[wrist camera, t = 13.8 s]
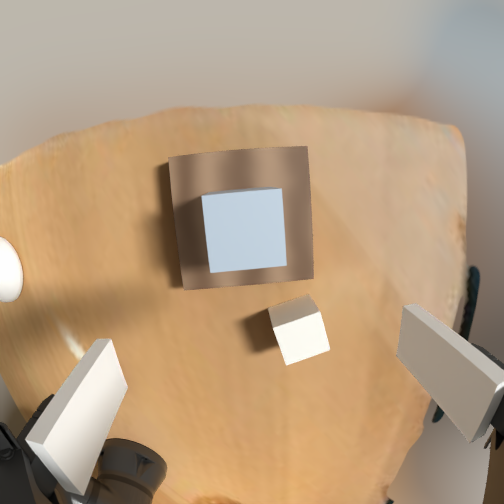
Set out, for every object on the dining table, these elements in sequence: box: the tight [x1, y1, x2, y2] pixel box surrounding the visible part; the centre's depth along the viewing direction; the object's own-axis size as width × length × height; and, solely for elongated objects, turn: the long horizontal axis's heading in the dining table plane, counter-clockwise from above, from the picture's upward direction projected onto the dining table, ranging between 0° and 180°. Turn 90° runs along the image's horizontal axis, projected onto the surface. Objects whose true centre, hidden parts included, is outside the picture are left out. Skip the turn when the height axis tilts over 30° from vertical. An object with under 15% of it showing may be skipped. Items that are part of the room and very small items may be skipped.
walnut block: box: [168, 146, 314, 290], centre depth 36 cm, size 16×16×4 cm
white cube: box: [268, 294, 330, 365], centre depth 39 cm, size 6×6×6 cm
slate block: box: [202, 187, 287, 273], centre depth 30 cm, size 7×7×8 cm
